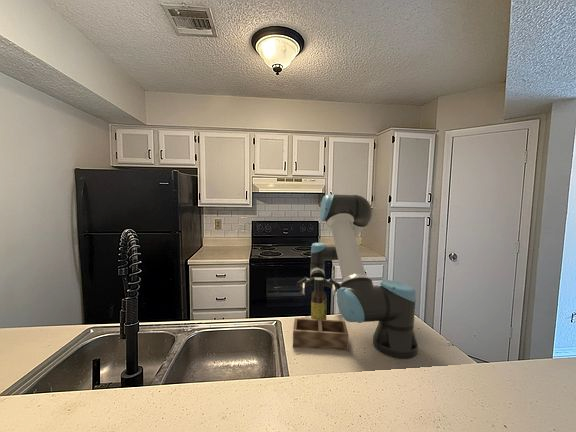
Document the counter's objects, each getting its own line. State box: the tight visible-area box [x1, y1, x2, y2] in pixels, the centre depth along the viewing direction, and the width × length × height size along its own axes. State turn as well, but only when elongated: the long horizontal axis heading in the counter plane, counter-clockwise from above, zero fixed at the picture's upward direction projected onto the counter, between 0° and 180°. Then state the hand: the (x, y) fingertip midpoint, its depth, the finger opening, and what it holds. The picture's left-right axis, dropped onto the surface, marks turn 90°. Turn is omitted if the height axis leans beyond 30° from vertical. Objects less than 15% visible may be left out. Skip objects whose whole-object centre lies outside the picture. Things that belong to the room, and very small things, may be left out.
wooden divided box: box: [292, 317, 349, 352], centre depth 102 cm, size 19×10×6 cm, turn 85°
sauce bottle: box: [310, 277, 328, 320], centre depth 112 cm, size 6×6×20 cm
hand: (318, 291), depth 121 cm, fingers open, 13 cm apart
